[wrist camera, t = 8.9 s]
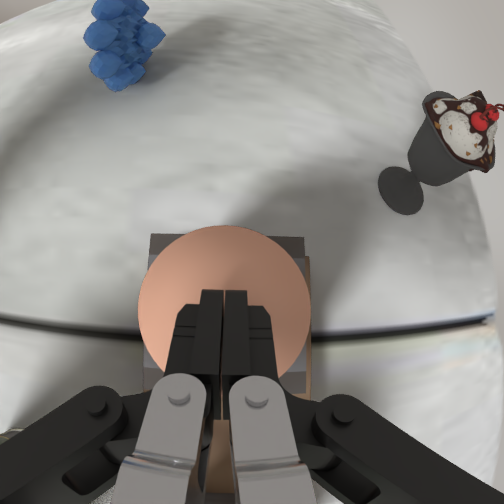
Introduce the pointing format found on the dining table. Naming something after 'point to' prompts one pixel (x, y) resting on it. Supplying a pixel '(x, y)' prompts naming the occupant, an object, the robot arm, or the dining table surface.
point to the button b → (225, 287)
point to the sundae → (443, 148)
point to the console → (220, 466)
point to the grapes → (121, 41)
